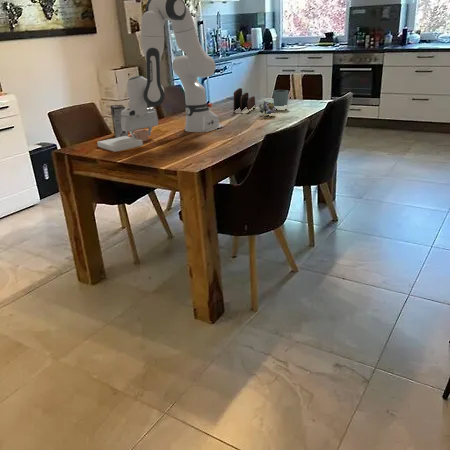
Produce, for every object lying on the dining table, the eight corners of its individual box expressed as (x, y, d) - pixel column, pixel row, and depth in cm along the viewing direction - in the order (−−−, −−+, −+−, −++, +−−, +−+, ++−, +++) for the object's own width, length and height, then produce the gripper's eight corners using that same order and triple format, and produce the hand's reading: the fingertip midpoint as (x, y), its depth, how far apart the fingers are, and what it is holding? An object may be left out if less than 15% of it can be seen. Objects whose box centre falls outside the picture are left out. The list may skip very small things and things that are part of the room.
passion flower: (271, 126, 290) (269, 112, 280) (256, 121, 294) (253, 107, 284) (279, 113, 294) (277, 99, 284) (264, 108, 299) (261, 94, 288)
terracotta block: (143, 138, 247) (142, 129, 245) (148, 140, 244) (147, 130, 242) (135, 140, 244) (134, 131, 242) (140, 142, 241) (139, 132, 239)
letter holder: (233, 113, 305) (232, 91, 300) (241, 108, 323) (240, 86, 317) (248, 113, 302) (248, 91, 297) (255, 108, 320) (255, 86, 314)
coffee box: (113, 135, 257) (109, 105, 251) (125, 134, 259) (122, 104, 253) (116, 138, 249) (112, 107, 243) (128, 137, 251) (124, 106, 245)
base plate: (125, 140, 244) (125, 135, 243) (143, 145, 233) (142, 140, 232) (97, 146, 234) (97, 141, 233) (114, 151, 223) (113, 146, 222)
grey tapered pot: (273, 110, 307) (273, 91, 302) (272, 108, 316) (272, 89, 312) (288, 110, 307) (289, 91, 302) (287, 107, 316) (287, 89, 311)
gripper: (152, 106, 246) (154, 132, 252) (117, 112, 234) (121, 139, 239) (159, 107, 242) (161, 134, 247) (124, 113, 229) (128, 141, 235)
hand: (141, 137), depth 243 cm, fingers open, 8 cm apart
